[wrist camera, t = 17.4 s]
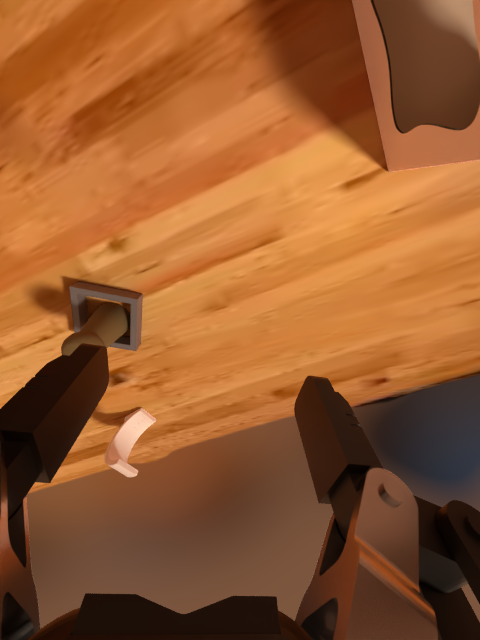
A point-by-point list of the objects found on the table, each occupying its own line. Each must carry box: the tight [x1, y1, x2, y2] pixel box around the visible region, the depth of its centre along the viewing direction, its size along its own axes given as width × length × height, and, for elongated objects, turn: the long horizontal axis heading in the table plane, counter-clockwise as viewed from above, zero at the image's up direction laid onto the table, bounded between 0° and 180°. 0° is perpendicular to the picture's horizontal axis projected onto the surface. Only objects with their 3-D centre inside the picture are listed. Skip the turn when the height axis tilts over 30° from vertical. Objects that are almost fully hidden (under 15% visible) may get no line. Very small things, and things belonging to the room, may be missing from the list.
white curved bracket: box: [105, 408, 156, 477], centre depth 48 cm, size 5×6×12 cm
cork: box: [61, 303, 131, 356], centre depth 36 cm, size 6×6×11 cm
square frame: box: [69, 281, 143, 351], centre depth 40 cm, size 10×10×2 cm
